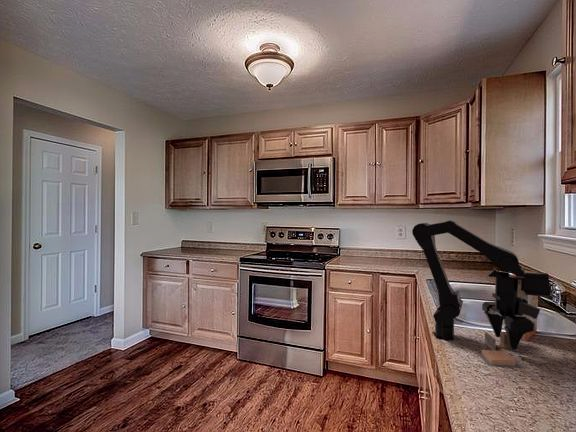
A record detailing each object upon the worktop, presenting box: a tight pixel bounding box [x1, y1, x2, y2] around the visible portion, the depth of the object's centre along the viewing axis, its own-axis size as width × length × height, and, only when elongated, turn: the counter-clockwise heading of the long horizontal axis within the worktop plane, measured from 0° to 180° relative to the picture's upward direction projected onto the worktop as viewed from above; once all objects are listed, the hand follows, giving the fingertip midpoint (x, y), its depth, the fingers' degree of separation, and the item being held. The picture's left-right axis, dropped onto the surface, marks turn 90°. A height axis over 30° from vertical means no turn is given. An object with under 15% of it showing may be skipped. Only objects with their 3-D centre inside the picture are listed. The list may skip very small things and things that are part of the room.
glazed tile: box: [481, 349, 517, 366], centre depth 91 cm, size 6×1×6 cm
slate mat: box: [476, 352, 525, 369], centre depth 91 cm, size 8×9×1 cm
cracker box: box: [511, 270, 539, 342], centre depth 109 cm, size 14×6×21 cm, turn 131°
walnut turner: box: [484, 331, 512, 351], centre depth 99 cm, size 6×6×5 cm
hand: (505, 342), depth 99 cm, fingers open, 9 cm apart
